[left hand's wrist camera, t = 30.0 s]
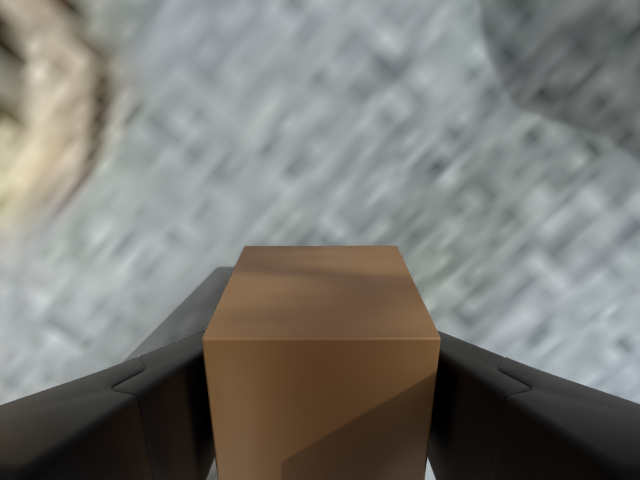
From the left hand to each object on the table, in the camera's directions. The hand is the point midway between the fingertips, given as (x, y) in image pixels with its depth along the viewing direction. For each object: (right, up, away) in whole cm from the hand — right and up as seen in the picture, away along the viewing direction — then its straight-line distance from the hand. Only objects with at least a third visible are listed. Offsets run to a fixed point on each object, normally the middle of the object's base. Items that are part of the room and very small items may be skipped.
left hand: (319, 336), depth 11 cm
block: (0, 0, +1) cm, 1 cm away
